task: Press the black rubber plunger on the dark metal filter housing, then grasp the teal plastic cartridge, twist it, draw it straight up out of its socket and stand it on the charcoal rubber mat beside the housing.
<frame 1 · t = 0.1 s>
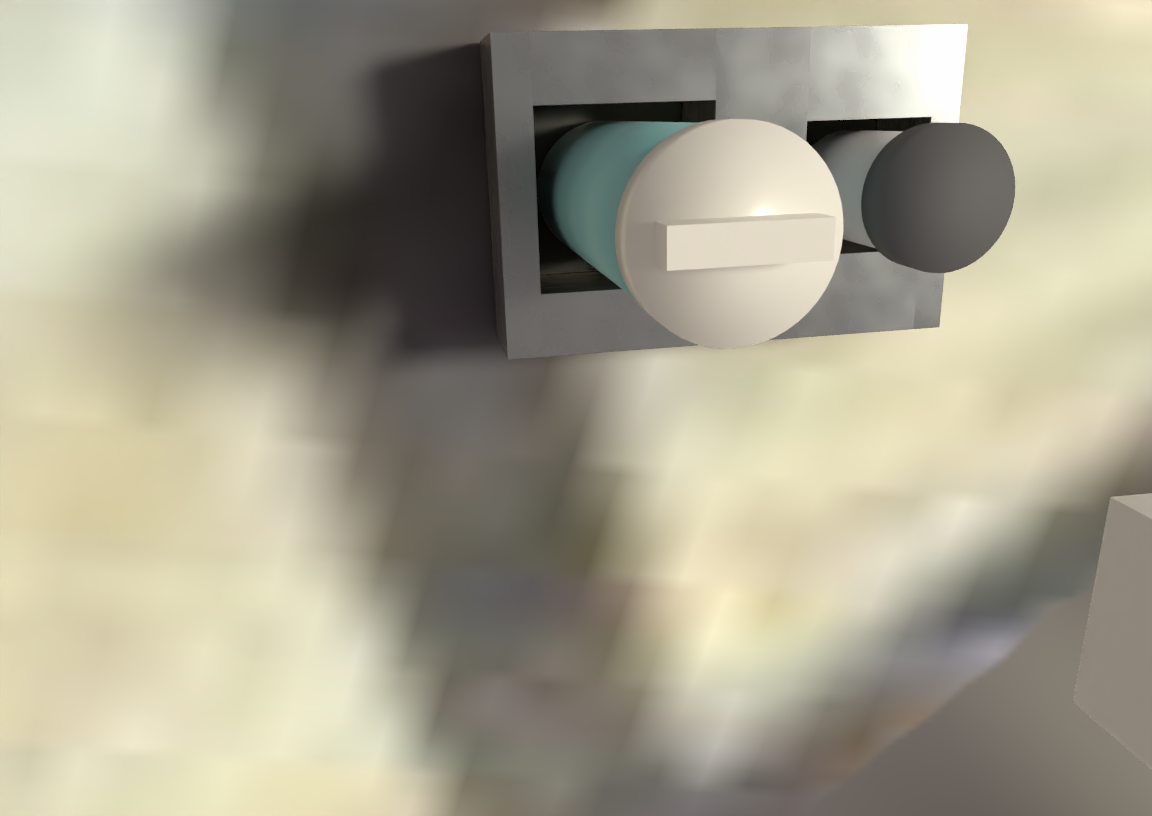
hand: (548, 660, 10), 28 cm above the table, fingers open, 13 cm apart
plunger: (890, 191, 32), point 6 cm above the table, slide at 0.0 cm
housing: (701, 185, 37), on the table
cartridge: (603, 189, 36), resting in housing
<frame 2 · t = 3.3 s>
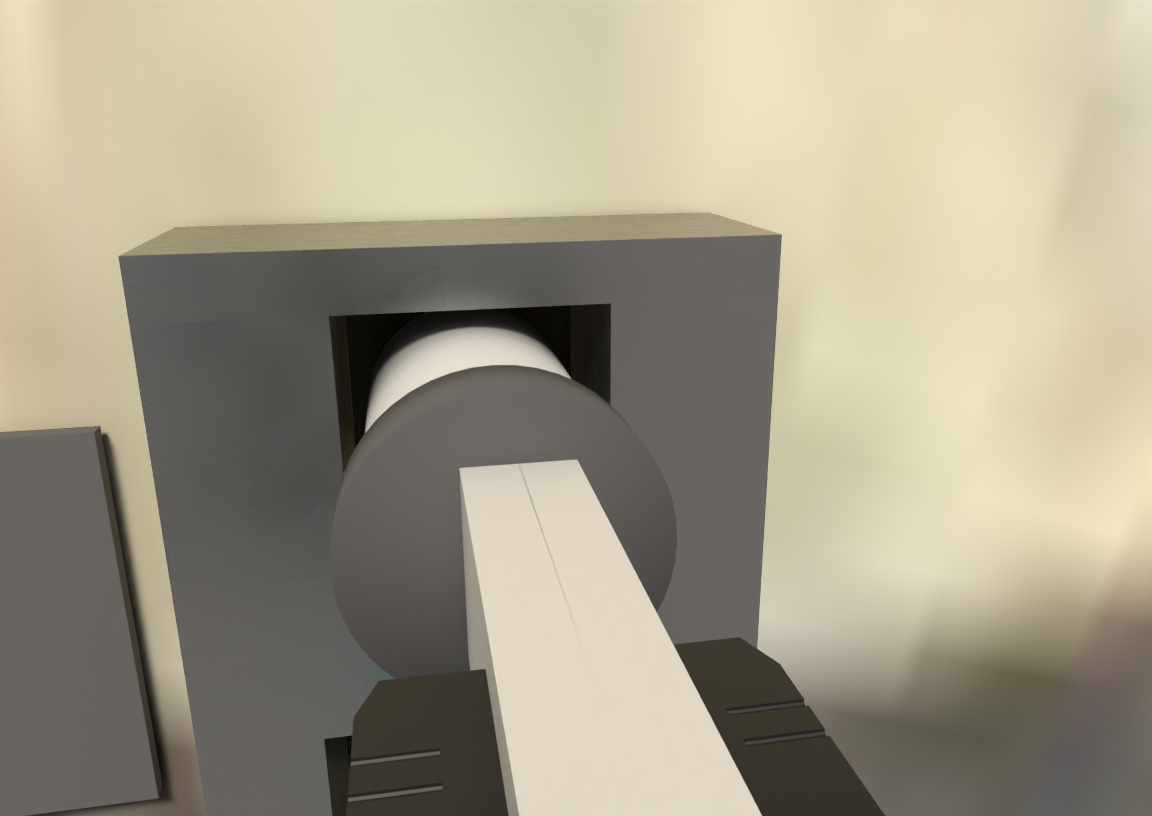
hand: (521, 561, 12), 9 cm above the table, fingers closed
plunger: (484, 460, 15), point 5 cm above the table, slide at 0.9 cm, touching gripper
housing: (472, 585, 22), on the table
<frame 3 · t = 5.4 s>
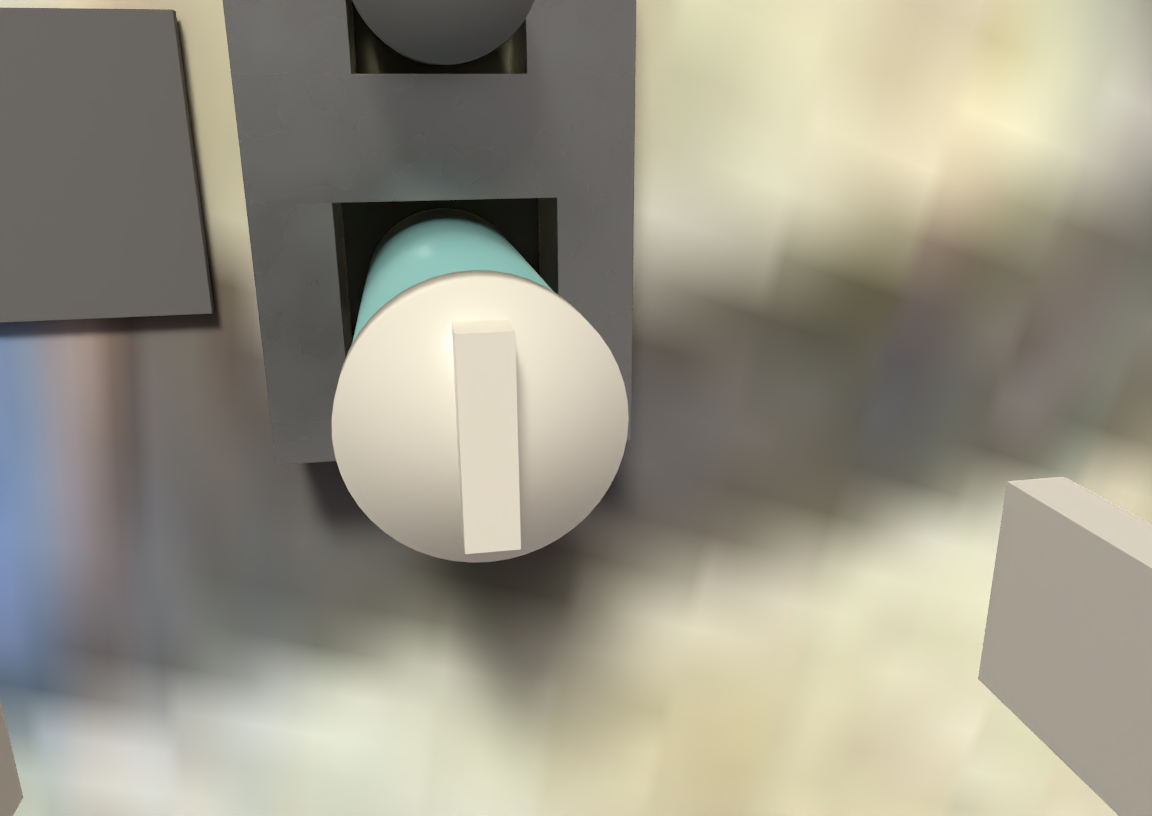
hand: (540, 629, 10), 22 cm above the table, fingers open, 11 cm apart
housing: (439, 164, 30), on the table
cartridge: (445, 286, 31), resting in housing
mat: (38, 170, 28), on the table
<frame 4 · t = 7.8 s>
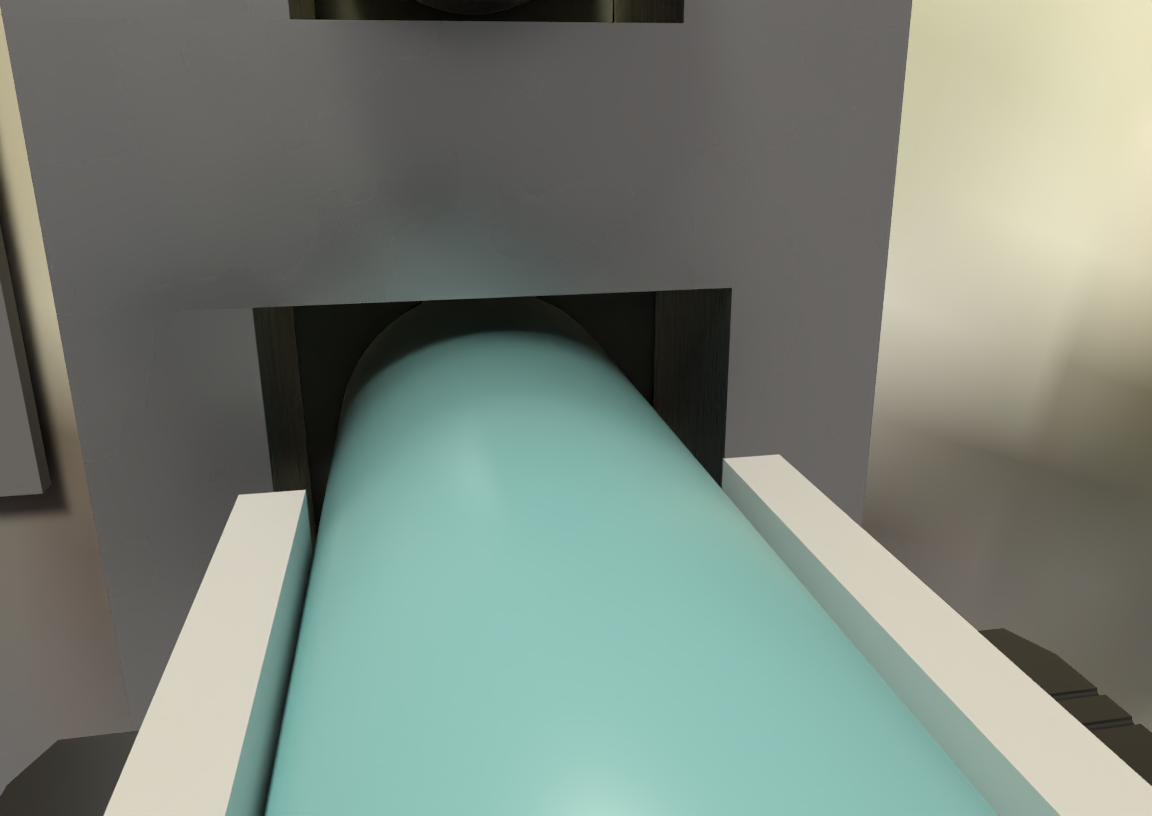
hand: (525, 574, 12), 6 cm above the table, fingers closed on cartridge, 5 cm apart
housing: (476, 207, 16), on the table
cartridge: (485, 428, 17), resting in housing, touching gripper
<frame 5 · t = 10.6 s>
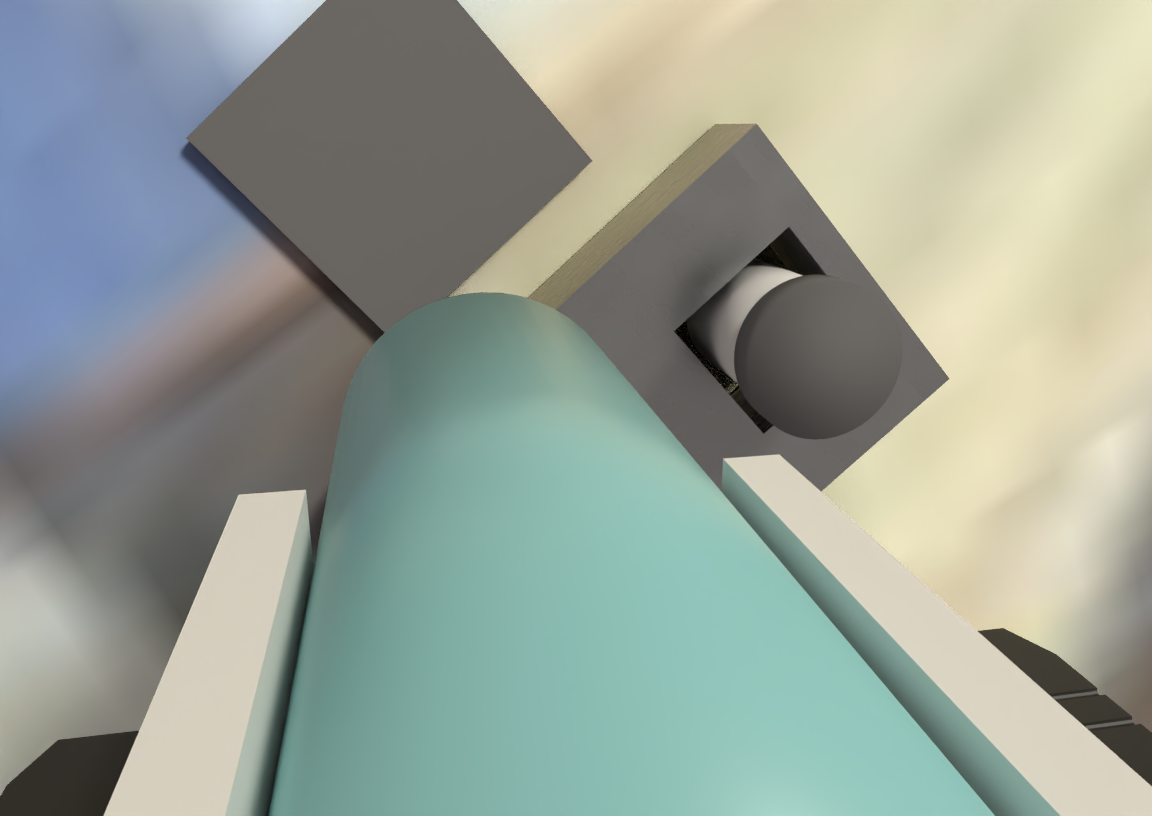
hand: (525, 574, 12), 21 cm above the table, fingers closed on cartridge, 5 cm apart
plunger: (778, 335, 29), point 4 cm above the table, slide at 1.6 cm
housing: (632, 403, 34), on the table
cartridge: (486, 431, 17), point 15 cm above the table, touching gripper
mat: (397, 149, 30), on the table
when the fingers open (8 cm above the table, at t = 13.8 s): cartridge drops 1 cm, resting on mat.
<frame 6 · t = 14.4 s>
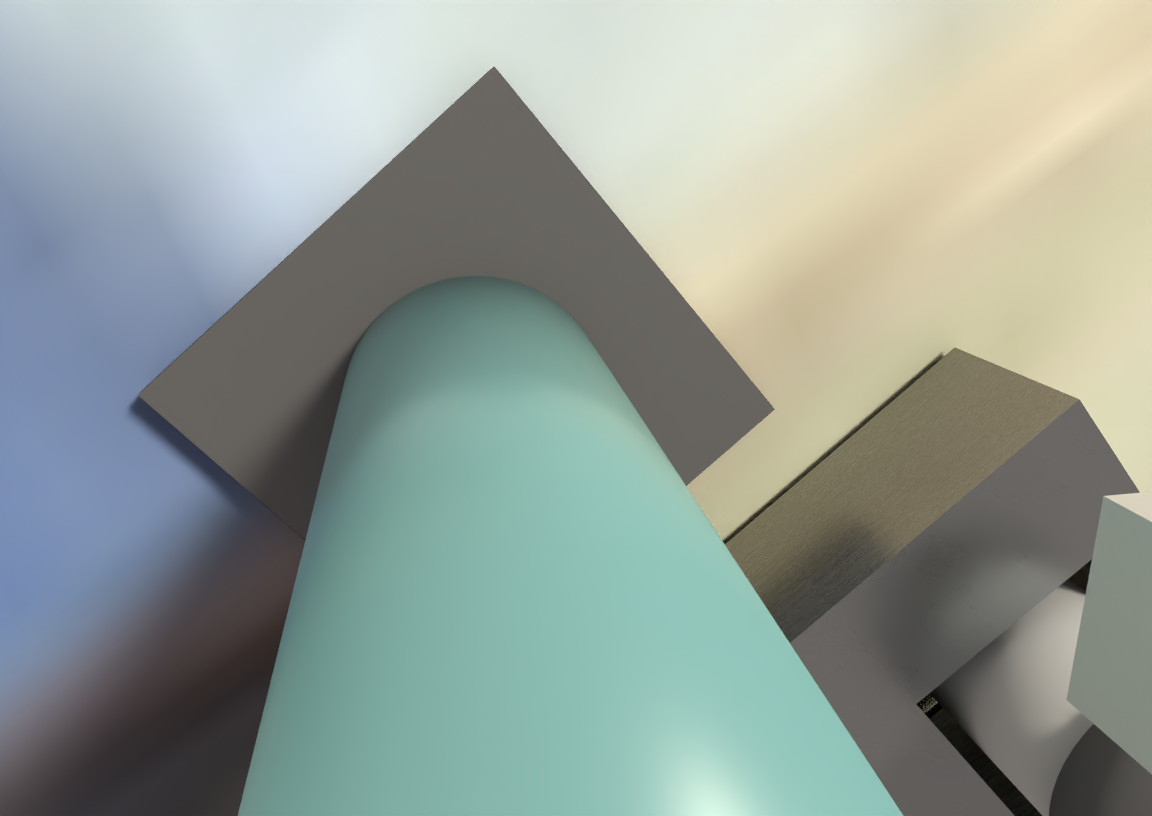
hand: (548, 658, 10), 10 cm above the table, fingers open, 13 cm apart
plunger: (1073, 703, 19), point 4 cm above the table, slide at 1.6 cm
housing: (800, 730, 23), on the table
cartridge: (476, 404, 18), point 1 cm above the table, touching mat
mat: (476, 397, 19), on the table
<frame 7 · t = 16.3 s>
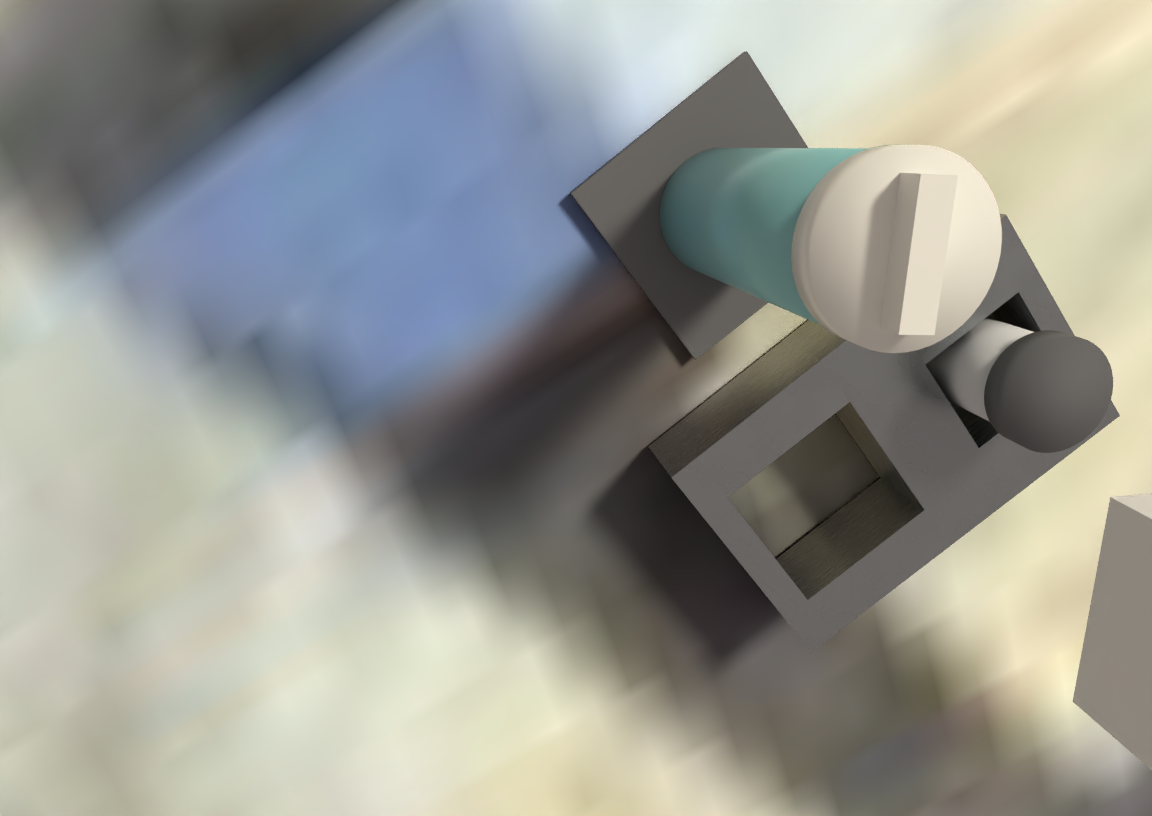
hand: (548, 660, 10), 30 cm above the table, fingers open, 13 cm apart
plunger: (1001, 373, 38), point 4 cm above the table, slide at 1.6 cm
housing: (860, 418, 43), on the table
cartridge: (719, 212, 38), resting on mat
mat: (717, 211, 39), on the table
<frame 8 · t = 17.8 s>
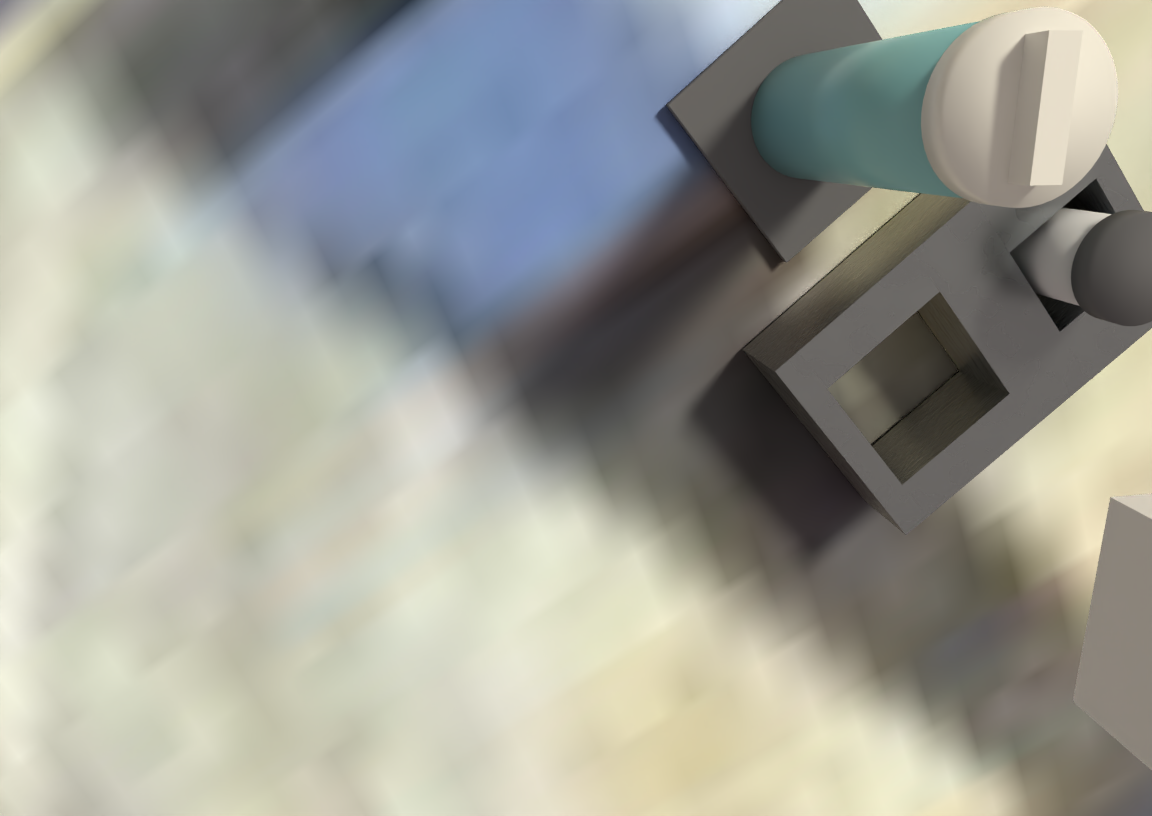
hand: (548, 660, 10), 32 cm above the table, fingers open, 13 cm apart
plunger: (1080, 257, 40), point 4 cm above the table, slide at 1.6 cm
housing: (940, 313, 45), on the table
cartridge: (807, 117, 40), resting on mat
mat: (804, 117, 41), on the table
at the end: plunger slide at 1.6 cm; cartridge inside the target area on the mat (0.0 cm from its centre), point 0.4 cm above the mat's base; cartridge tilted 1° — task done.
